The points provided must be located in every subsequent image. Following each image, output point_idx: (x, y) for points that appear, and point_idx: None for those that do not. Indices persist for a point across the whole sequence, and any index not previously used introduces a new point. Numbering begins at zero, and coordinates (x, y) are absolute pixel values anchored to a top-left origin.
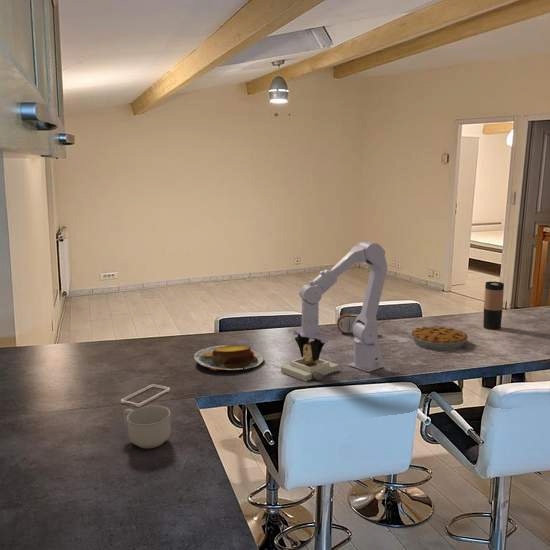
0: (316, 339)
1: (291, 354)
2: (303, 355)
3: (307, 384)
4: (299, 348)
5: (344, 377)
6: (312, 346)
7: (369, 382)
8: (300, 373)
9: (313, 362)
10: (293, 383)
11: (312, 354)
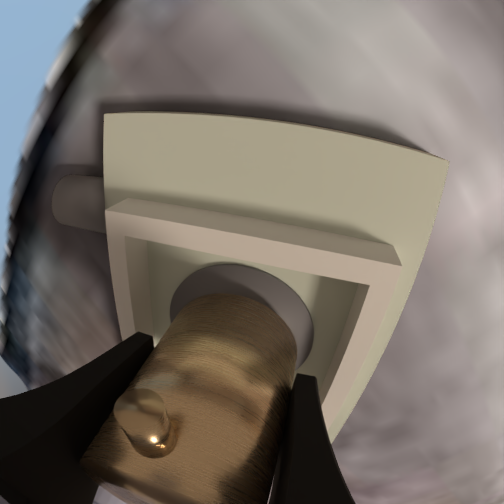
0: (6, 499)
1: (477, 429)
2: (253, 373)
3: (96, 85)
4: (329, 452)
5: (69, 309)
6: (19, 420)
7: (10, 303)
8: (162, 119)
9: (165, 332)
10: (172, 20)
11: (110, 371)
